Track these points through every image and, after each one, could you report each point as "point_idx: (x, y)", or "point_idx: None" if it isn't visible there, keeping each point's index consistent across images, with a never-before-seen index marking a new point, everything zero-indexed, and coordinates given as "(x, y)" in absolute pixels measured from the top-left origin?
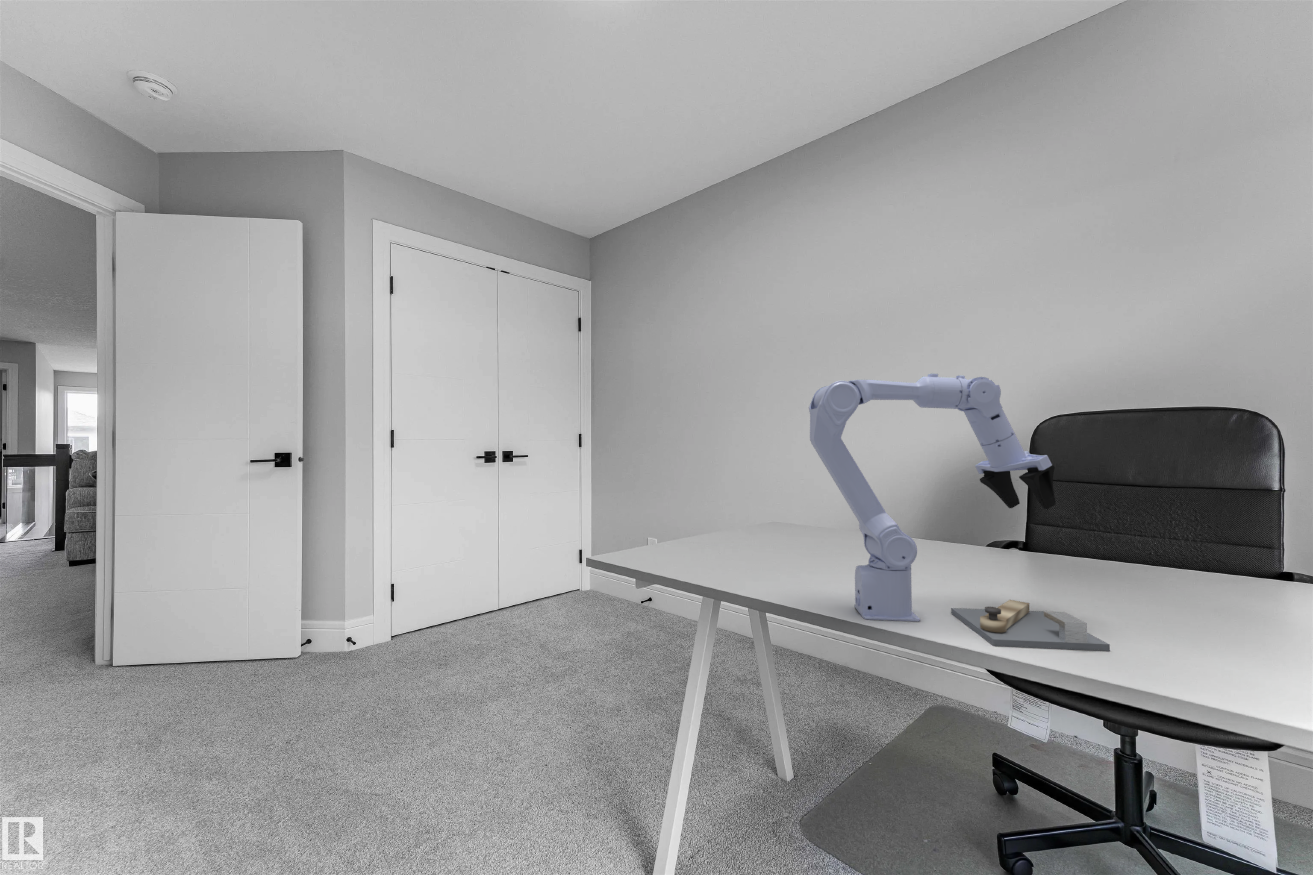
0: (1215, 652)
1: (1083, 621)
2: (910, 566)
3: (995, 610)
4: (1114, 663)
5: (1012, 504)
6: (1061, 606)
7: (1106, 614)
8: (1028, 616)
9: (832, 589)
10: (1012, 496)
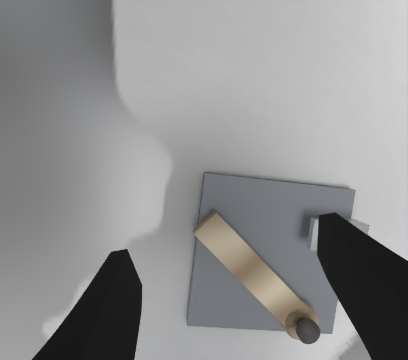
0: (353, 40)
1: (361, 224)
2: None
3: (319, 334)
4: (381, 211)
5: (137, 288)
6: (134, 96)
7: (182, 49)
8: (233, 223)
9: None
10: (122, 303)
